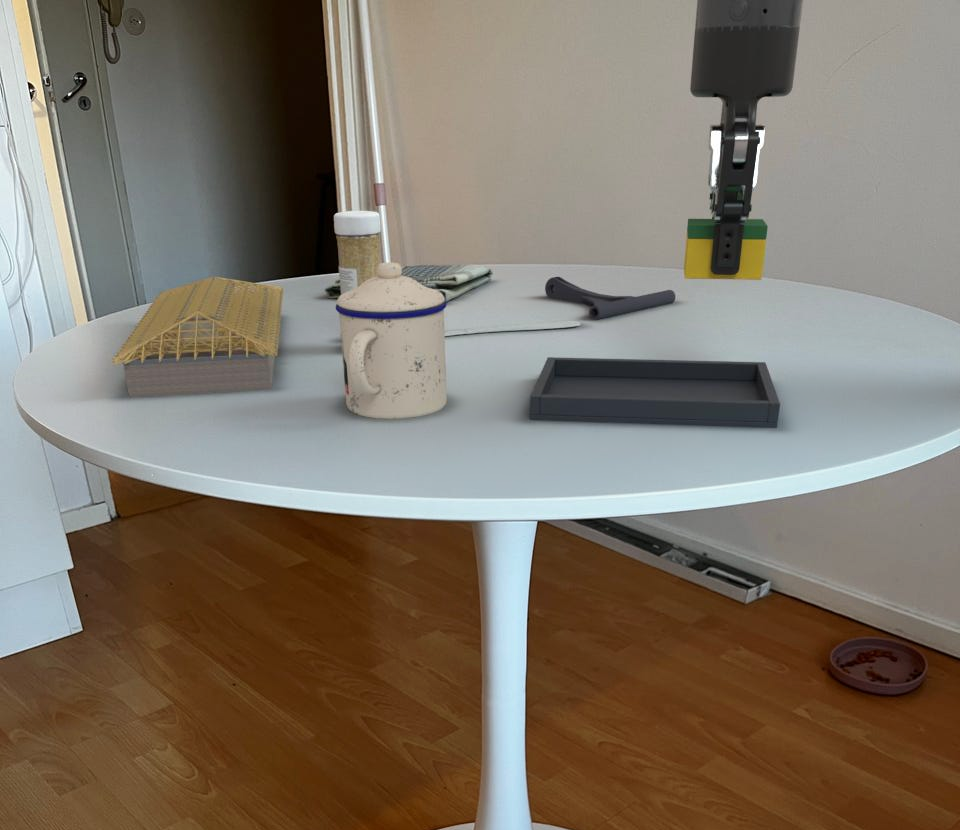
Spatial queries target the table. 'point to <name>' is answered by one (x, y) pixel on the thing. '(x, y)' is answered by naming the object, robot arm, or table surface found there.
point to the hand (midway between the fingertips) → (722, 267)
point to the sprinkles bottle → (357, 247)
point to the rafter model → (204, 340)
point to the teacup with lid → (393, 346)
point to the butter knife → (516, 327)
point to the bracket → (605, 299)
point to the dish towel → (438, 278)
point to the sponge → (702, 243)
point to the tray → (655, 392)
